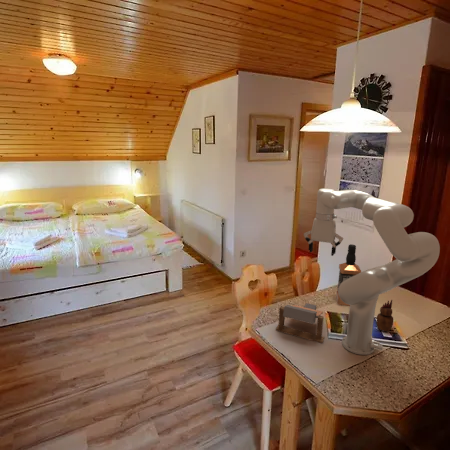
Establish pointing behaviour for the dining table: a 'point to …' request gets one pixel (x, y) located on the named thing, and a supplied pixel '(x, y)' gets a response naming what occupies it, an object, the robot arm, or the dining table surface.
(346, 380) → the dining table surface
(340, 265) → the whiskey bottle
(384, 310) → the wooden figurine
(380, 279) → the robot arm
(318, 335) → the frame
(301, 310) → the brown and grey block
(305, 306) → the grey cube
